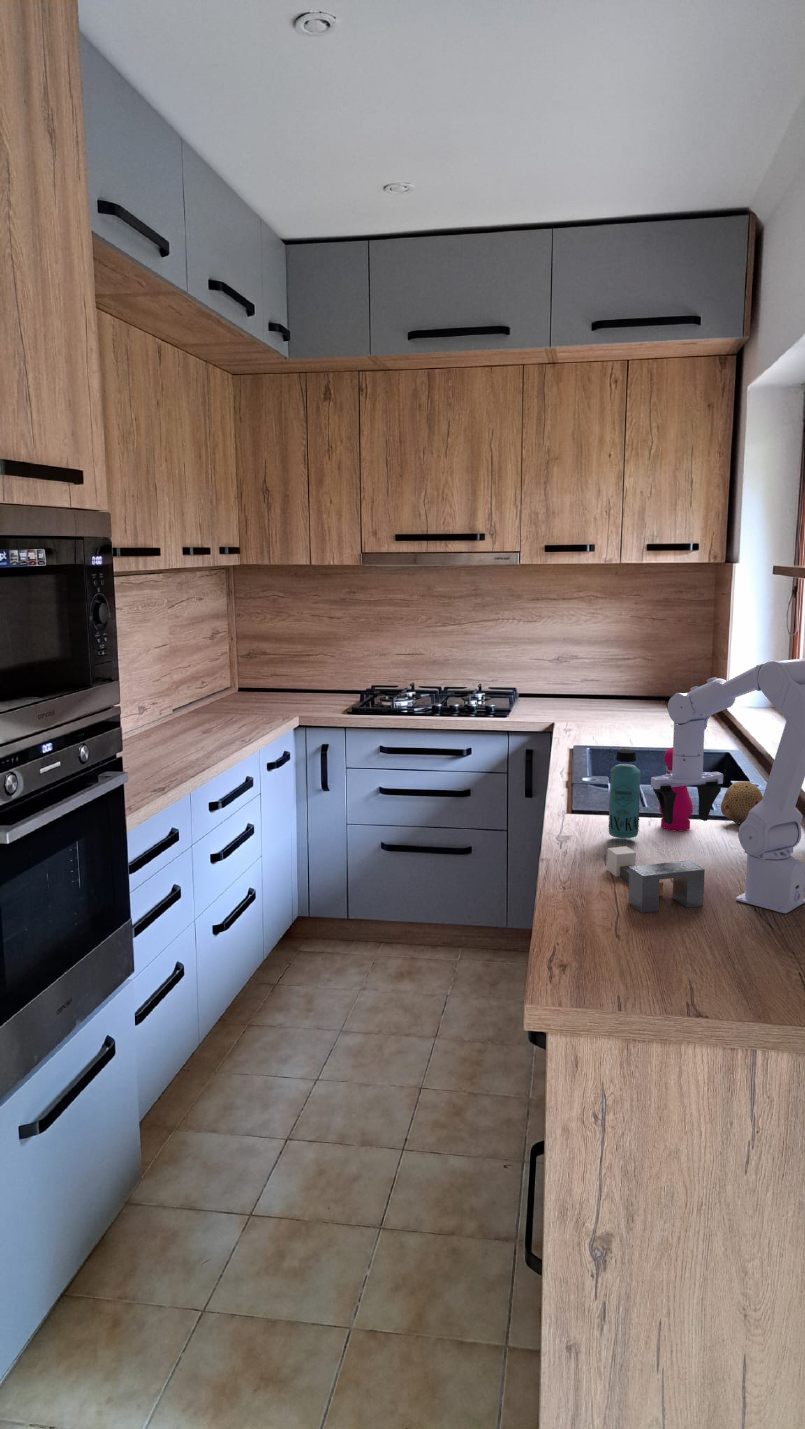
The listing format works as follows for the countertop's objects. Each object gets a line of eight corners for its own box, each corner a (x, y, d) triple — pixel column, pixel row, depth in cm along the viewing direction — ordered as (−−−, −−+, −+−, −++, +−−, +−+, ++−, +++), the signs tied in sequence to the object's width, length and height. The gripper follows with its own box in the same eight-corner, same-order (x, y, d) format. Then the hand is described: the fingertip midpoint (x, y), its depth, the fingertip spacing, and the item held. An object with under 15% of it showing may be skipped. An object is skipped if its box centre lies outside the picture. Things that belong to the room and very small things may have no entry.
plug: (664, 895, 180) (665, 872, 179) (644, 897, 179) (645, 874, 178) (625, 867, 195) (626, 846, 194) (607, 869, 194) (607, 848, 193)
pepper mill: (680, 834, 215) (683, 745, 212) (652, 827, 221) (655, 740, 217) (698, 827, 220) (702, 740, 216) (670, 820, 225) (673, 735, 222)
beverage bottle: (605, 836, 215) (607, 746, 211) (636, 835, 215) (638, 746, 211) (610, 845, 209) (612, 753, 205) (642, 845, 208) (644, 753, 205)
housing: (703, 905, 175) (704, 869, 173) (641, 913, 172) (642, 876, 171) (688, 895, 180) (689, 860, 178) (628, 902, 177) (629, 866, 175)
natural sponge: (773, 827, 219) (775, 783, 218) (743, 832, 216) (745, 788, 214) (742, 816, 227) (744, 775, 226) (713, 822, 224) (715, 779, 222)
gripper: (710, 746, 196) (707, 812, 199) (644, 751, 193) (642, 818, 195) (730, 754, 189) (727, 822, 192) (661, 759, 186) (659, 828, 189)
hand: (685, 821), depth 193 cm, fingers open, 7 cm apart
